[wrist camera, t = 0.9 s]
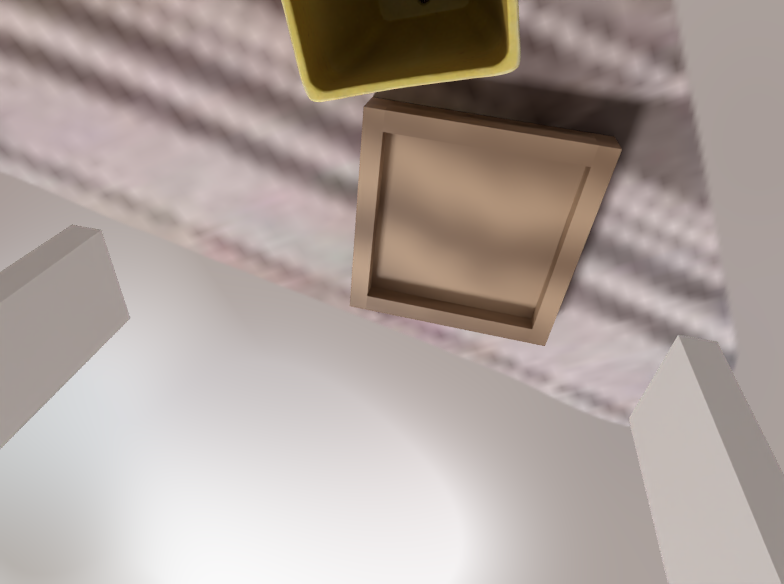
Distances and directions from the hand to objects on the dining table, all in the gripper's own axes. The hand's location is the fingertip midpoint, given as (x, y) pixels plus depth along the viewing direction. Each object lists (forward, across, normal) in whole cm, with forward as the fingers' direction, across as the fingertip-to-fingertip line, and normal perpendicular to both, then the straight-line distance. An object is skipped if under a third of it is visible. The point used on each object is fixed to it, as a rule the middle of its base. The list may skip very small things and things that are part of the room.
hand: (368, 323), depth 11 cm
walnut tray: (+20, +2, -8) cm, 22 cm away
